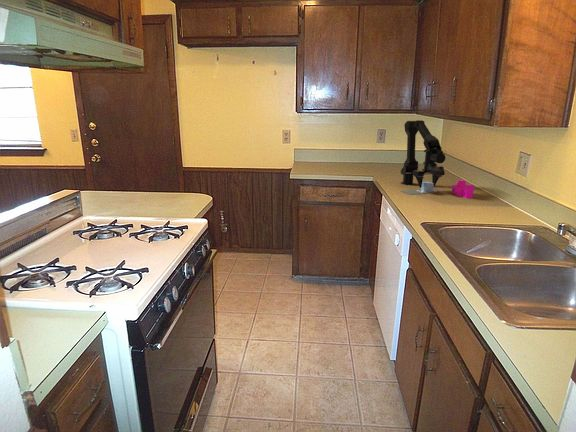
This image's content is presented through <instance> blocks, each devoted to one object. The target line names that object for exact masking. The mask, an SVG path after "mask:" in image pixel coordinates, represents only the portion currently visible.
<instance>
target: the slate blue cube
mask: <svg viewBox="0 0 576 432" xmlns="http://www.w3.org/2000/svg"><path fill="white" fill-rule="evenodd" d="M434 188H435V186H434V183H432V181H422V187H421V188H420V189H421V191H424V192H433V189H434Z"/></svg>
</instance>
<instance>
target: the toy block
mask: <svg viewBox="0 0 576 432" xmlns="http://www.w3.org/2000/svg"><path fill="white" fill-rule="evenodd" d="M474 192H475V185H474V184H467V183H466V180H464V179H457V183H456V184H452V185H451V193H452V194H454V195H455V196H457V197H463V198H465V199H473V198H474Z"/></svg>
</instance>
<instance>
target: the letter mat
mask: <svg viewBox="0 0 576 432" xmlns="http://www.w3.org/2000/svg"><path fill="white" fill-rule="evenodd" d="M400 192H401V193H404V194H407V195H422V194H424V195H425V194H433V193H437V194H438V193H443V191H442V190H439V189H436V188H433V192H424V191H421V188H420V189H407V190H400Z"/></svg>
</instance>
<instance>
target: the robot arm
mask: <svg viewBox="0 0 576 432" xmlns="http://www.w3.org/2000/svg"><path fill="white" fill-rule="evenodd" d="M403 126H404V132H405V133H406V135H407V137H406V139H407V140H406V143H407V145H406V160H405V161H404V163H403V167H402V168H401V169H400V175H402V176H403V177H402V181H401V182H400V184H403V185H405V186H406V185H408V186H409V185H415V182H414V177H415V179H416V180H417V184H418V187H419V188H420V189H421V187H422V182H423V179H424V178H425V177H424V176H425V175H432V176H431V177H432V178H431V179H432V180H431V183H434V187H436V185H437V182H438V181H439V179H440V178H441V177H443V176H445V175H446V174H445V173H446V171H445V170H444V169H445V168H444V166H441V165H440V166H437V165H438V164H442V163H444V162H445V161H446V154H444V151H443V149H442V147H441V144H440V140H439V139H438V138H437V137H436V136H435V135H433V134H432V133H431V131H430V130H429V128H428V127H427V126H426V123H425V121H424V120H422V119H420V120H419V119H418V120H406V122H405V123H404V125H403ZM418 133H419V134H420V135H421V137H422V139H423V142H422V144H423V145H424V148H425V149H424V150H423V152H424V153H425V154H424V155H425V156H424V161H423V162H422V164H423V165H424V166H423V168H422V170H421V169H420V170H419V161H418V160H416V140H417V139H416V136H417V134H418Z"/></svg>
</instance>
